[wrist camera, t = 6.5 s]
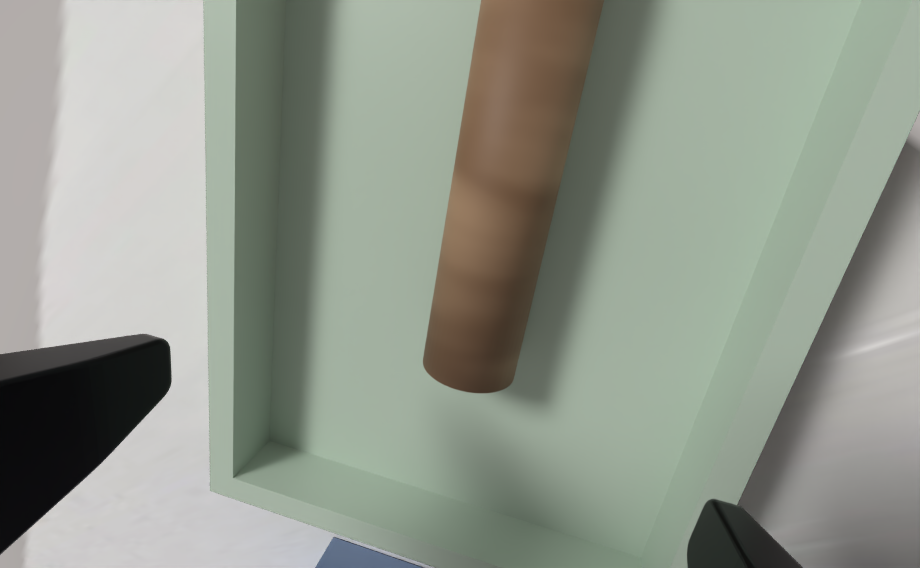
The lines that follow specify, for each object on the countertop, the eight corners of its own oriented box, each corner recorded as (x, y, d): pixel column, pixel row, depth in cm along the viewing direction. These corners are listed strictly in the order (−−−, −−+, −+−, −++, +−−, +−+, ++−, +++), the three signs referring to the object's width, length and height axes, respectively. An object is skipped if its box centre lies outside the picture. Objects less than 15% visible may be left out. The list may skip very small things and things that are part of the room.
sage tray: (1072, -430, 8) (1276, -659, 6) (657, 569, 15) (670, 647, 13) (283, -426, 10) (195, -590, 8) (258, 442, 18) (209, 490, 15)
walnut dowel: (526, 280, 16) (626, -111, 10) (506, 423, 12) (660, -106, 5) (456, 266, 17) (508, -127, 10) (411, 400, 12) (451, -135, 6)
